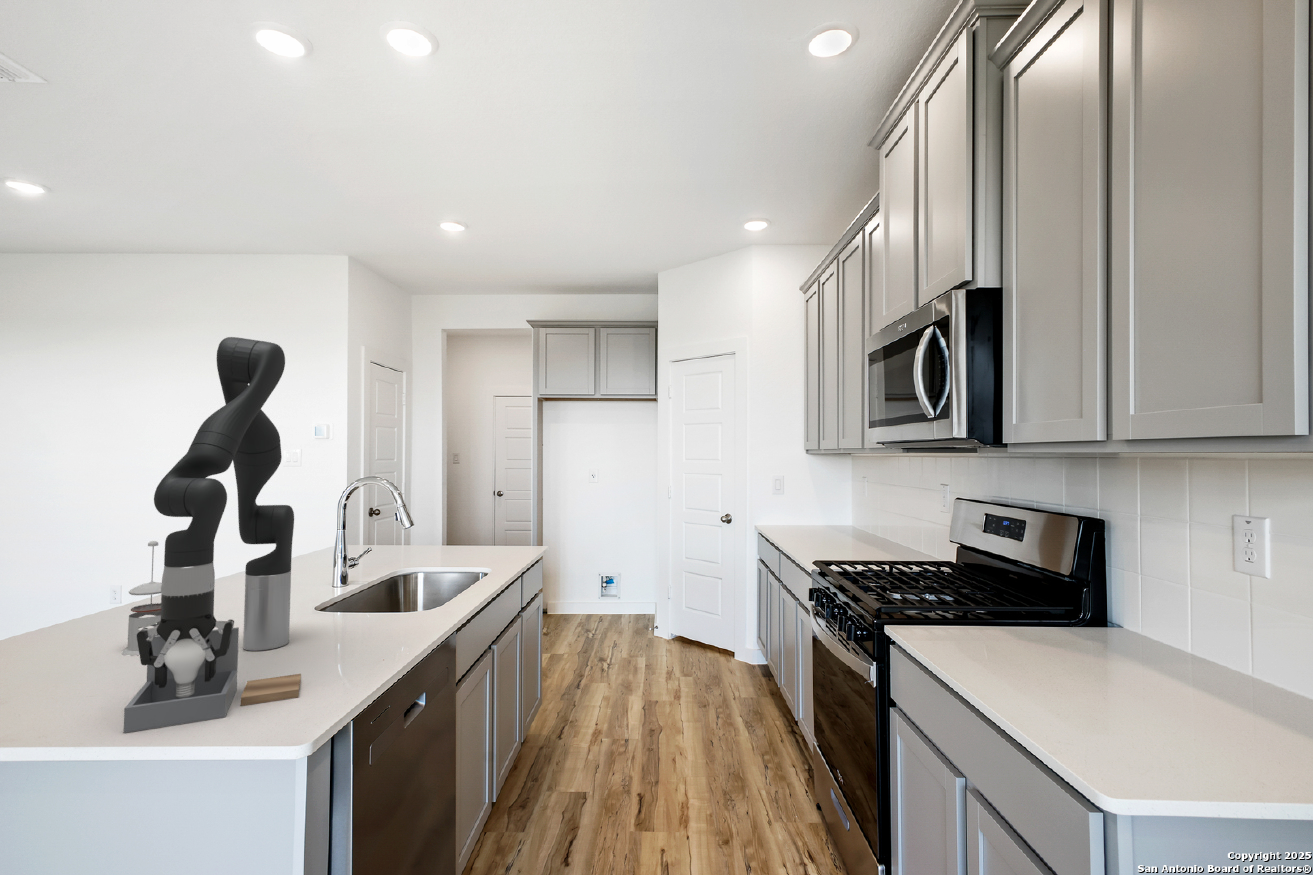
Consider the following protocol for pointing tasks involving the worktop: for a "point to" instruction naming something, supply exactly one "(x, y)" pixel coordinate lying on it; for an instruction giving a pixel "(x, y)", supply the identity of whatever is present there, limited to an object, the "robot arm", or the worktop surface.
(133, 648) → the french press
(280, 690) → the stand
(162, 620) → the robot arm
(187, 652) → the lightbulb
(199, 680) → the case
